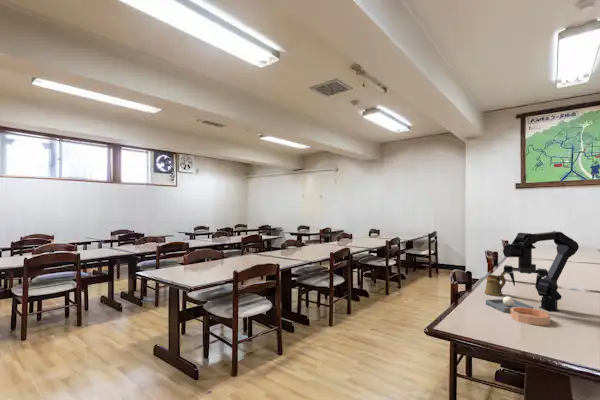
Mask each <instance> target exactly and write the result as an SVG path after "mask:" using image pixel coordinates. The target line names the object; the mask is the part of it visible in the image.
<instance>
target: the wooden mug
mask: <svg viewBox="0 0 600 400" xmlns="http://www.w3.org/2000/svg"><path fill="white" fill-rule="evenodd" d="M506 274H507V272H504V270H503V271H502V272H501V274H500V275H499V274H498V275H495V274H488V275H487V277H486V284H485V289H484V294H485V295H488V296H492V297H493V296H494V297H501V296H502V295H503V292H502V290H503V288H504V286H505V284H506V283H507V282H506V277H505V275H506ZM500 282H501V283H500Z"/></svg>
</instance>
